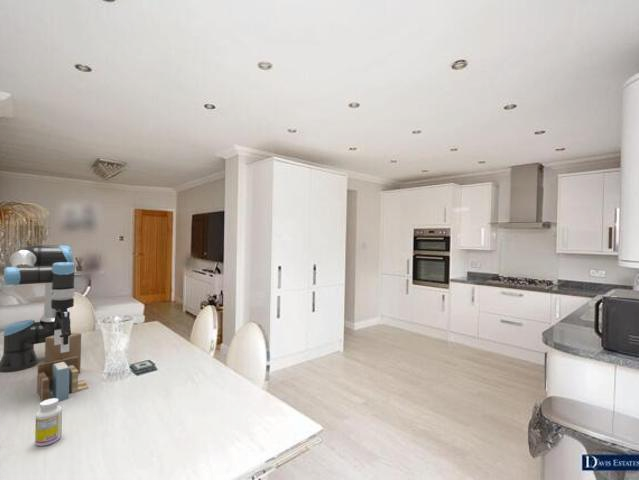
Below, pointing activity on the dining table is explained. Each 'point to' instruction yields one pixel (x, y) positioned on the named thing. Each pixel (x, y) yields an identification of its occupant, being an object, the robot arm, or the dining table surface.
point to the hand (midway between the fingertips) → (61, 348)
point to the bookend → (75, 380)
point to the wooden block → (55, 352)
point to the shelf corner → (50, 376)
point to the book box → (60, 381)
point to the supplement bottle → (48, 422)
